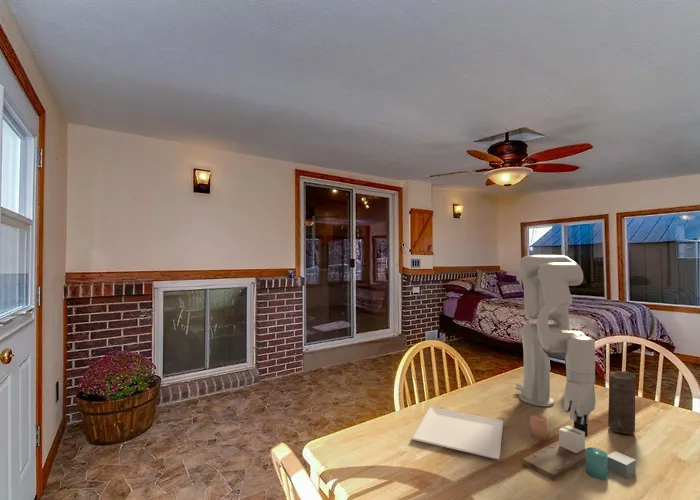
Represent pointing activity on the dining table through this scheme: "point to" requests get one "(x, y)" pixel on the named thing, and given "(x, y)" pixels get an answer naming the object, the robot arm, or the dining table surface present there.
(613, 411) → the candle
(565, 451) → the rail
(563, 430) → the slider
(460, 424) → the plate
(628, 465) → the slate box
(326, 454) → the dining table surface
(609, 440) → the dining table surface
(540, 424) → the peach domed cylinder
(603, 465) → the teal rounded cylinder
